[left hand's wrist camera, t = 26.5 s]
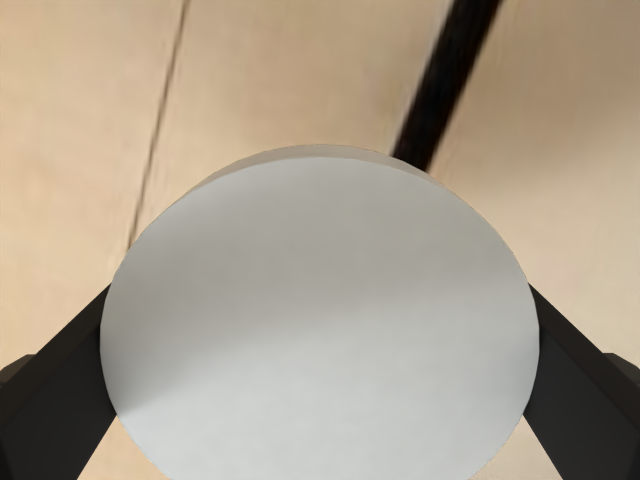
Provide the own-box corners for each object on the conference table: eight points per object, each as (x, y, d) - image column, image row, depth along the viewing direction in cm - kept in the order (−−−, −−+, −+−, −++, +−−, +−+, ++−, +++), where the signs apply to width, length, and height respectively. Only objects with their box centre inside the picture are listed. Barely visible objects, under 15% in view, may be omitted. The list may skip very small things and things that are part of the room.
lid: (585, 301, 12) (634, 341, 10) (347, 516, 15) (351, 578, 13) (277, 48, 10) (267, 39, 8) (67, 359, 13) (23, 407, 11)
